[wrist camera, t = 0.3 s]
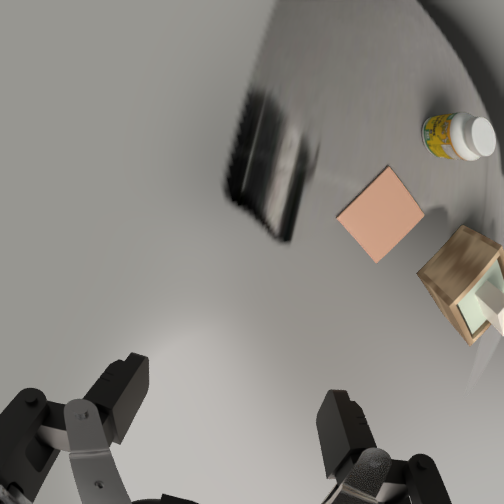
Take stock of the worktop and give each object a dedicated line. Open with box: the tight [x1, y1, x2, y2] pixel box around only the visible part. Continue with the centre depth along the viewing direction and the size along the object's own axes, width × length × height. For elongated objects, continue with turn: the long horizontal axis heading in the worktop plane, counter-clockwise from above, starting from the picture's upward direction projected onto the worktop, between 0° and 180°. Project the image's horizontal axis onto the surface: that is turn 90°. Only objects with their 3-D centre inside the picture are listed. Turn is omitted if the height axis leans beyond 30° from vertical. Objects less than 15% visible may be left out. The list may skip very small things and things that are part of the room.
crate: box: [417, 225, 504, 346], centre depth 28 cm, size 10×10×9 cm
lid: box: [457, 260, 504, 336], centre depth 22 cm, size 8×8×6 cm
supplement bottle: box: [422, 112, 496, 161], centre depth 21 cm, size 5×5×10 cm
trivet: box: [336, 166, 424, 263], centre depth 30 cm, size 9×8×1 cm
